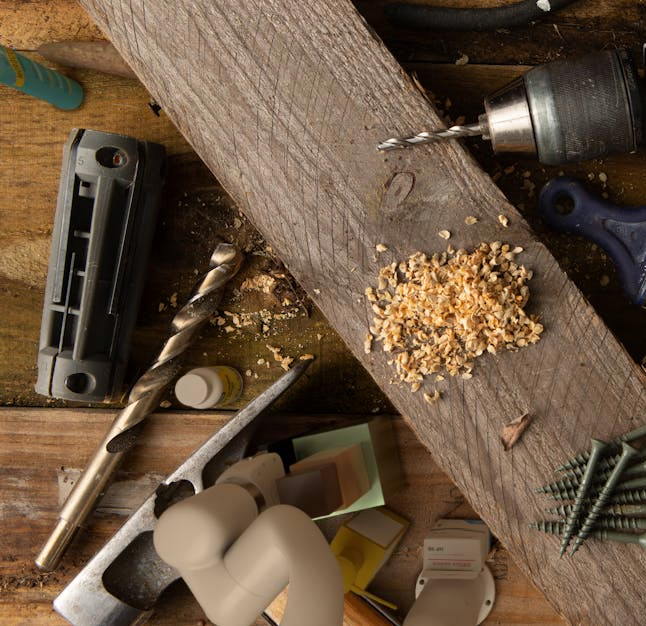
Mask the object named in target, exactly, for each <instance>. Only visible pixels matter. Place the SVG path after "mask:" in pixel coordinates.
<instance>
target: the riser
mask: <svg viewBox="0 0 646 626" xmlns="http://www.w3.org/2000/svg"><path fill="white" fill-rule="evenodd" d="M332 462H335V467H336V471H337V476H338V481H339V485H340V490H341V495H342V499H343V505H342V506H341V507H340V508H338V509H337V510H336V511H334V512H337V511H341V510H346V509H347V508H349V507H350V506H351V505H352V504H354V503H355V502H356V501H357V500H359V499H360V498H361V497H362V496H364V495H365V494H366V493H367V492H369V491H370V490H371V488H370V483H369V479H368V474H367V469H366V465H365V460H364V455H363V451H362V446H361V443H356V444H351V445H346V446H342V447H337V448H333V449H328V450H324V451H320V452H318V453H316V454H314V455H312V456H310V457H307V458H305V459H303V460H301V461H299V462H297V463H295V464H293V465H291V466H290V472H292V471H296V470H301V469H305V468H310V467H314V466H319V465H323V464H328V463H332Z"/></svg>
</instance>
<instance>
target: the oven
mask: <svg viewBox="0 0 646 626" xmlns="http://www.w3.org/2000/svg"><path fill="white" fill-rule="evenodd" d="M316 429H317V430H315V431H312V432H310V433H307V434H305V435H302V436H300V437H297V438H295V439H293V440H292V441H293V445H294V450H295V455H296V459H297V462H299V461H301V460H303V459H305V458H307V457H310V456H312V455H314V454H316V453H318V452H320V451H324V450H328V449H333V448H337V447H342V446H346V445H351V444H356V443H361V446H362V451H363V455H364V460H365V465H366V469H367V474H368V479H369V483H370V488H371V490H370V491H369V492H367V493H366V494H365V495H364V496H362V497H361V498H360V499H359V500H357V501H356V502H355V503H354V504H352V505H351V506H350V507H349V508H347V509H346V510H341V511H337V512H333V513H332V514H330V515H328V516H323V517H319V518H314V519H312V520H313V521H317V520H322V519H326V518H330V517H335V516H340V515H345V514H348V513H353V512H358V511H359V510H363V509H367V508H372V507H376V506H381V507H382V506H385V505H386V504H387V503H388V502H389V501H391V500H392V499H393V498H394V497H395V496H396V495H397V494H398V493H399V492H401V490H402V489H403V488H404V487H405V486H406V485H405V480H404V474H403V470H402V466H401V461H400V457H399V452H398V448H397V443H396V437H395V433H394V429H393V424H392V420H391V415H390V413H389V412H387V413H382V414H378V415H373V416H369V417H363V418H359V419H354V420H351V421H346V422H340V423H336V424H332V425H327V426H323V427H320V428H319V429H318V428H316Z"/></svg>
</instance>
